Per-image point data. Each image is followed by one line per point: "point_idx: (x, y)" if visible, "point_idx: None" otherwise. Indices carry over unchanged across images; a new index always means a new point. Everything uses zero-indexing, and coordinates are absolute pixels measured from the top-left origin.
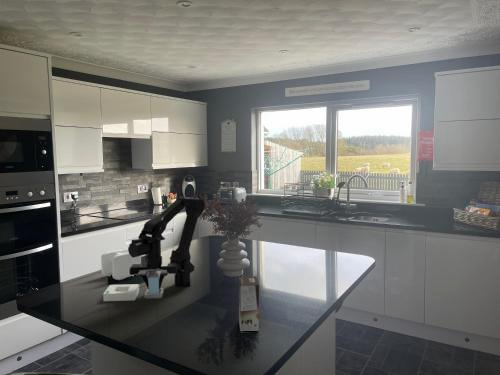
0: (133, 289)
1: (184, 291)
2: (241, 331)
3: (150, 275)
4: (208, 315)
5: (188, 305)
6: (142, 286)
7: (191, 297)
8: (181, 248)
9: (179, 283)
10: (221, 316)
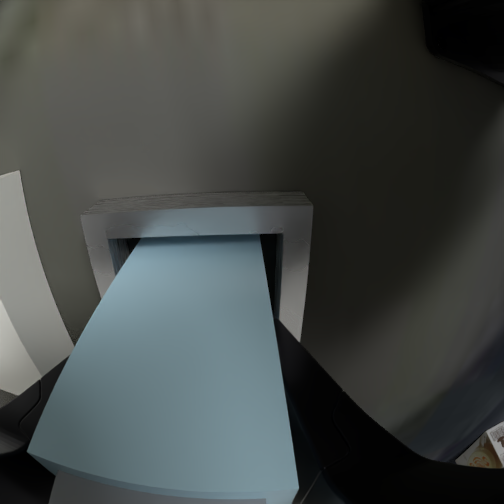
0: (6, 344)
1: (485, 206)
2: (456, 461)
3: None
4: (446, 438)
5: (427, 406)
6: (23, 32)
7: (482, 322)
8: None
9: (476, 44)
10: (469, 430)
